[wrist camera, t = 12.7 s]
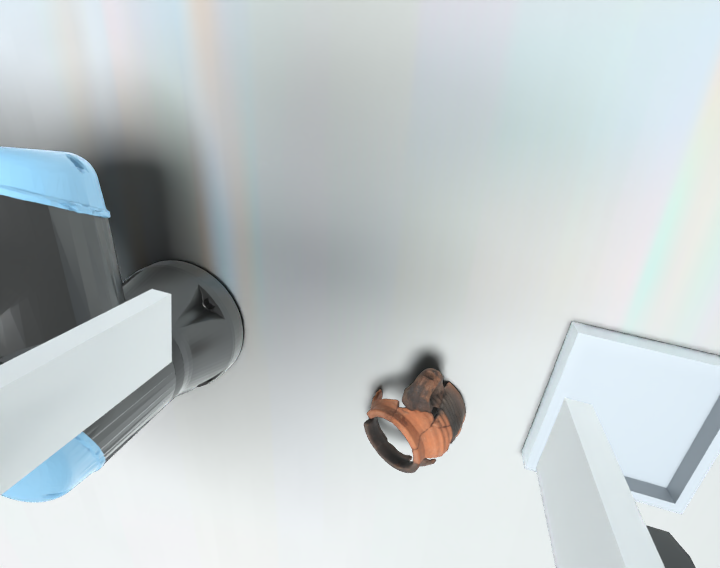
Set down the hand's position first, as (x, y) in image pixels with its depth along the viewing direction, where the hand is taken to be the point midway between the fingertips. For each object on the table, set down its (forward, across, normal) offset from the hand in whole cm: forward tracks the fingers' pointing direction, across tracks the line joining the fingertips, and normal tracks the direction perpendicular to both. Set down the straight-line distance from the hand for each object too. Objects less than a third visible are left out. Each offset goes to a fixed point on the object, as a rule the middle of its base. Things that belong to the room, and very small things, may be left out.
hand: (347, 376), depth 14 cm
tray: (+29, +23, -15) cm, 40 cm away
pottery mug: (+30, +5, -18) cm, 35 cm away
